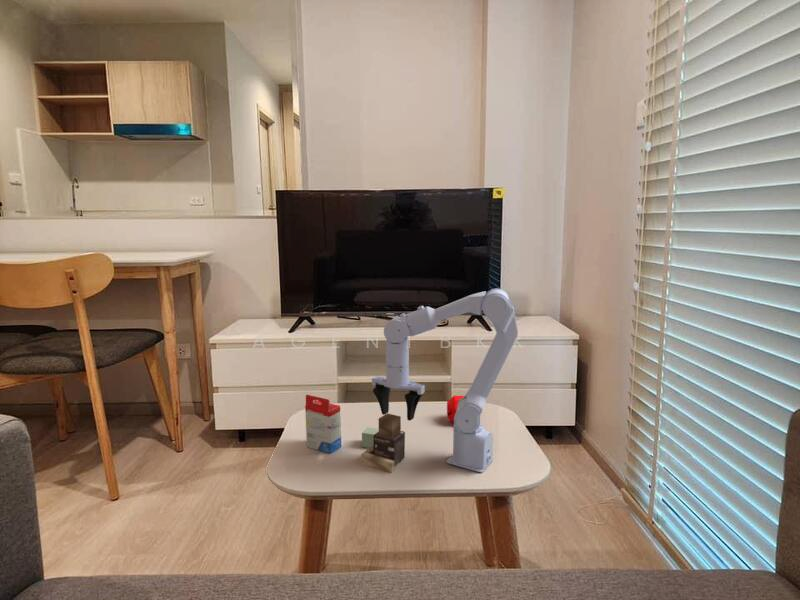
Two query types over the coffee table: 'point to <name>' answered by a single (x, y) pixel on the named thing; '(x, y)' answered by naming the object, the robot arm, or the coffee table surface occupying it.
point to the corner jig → (376, 461)
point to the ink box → (322, 424)
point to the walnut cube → (389, 425)
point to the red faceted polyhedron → (452, 407)
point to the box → (390, 446)
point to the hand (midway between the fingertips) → (397, 416)
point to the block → (368, 436)
